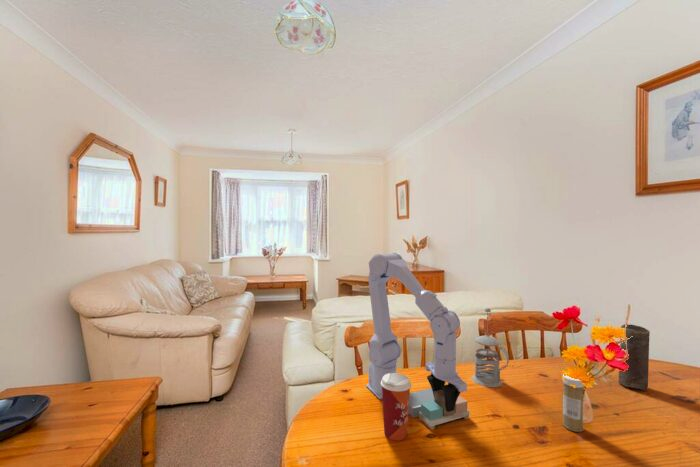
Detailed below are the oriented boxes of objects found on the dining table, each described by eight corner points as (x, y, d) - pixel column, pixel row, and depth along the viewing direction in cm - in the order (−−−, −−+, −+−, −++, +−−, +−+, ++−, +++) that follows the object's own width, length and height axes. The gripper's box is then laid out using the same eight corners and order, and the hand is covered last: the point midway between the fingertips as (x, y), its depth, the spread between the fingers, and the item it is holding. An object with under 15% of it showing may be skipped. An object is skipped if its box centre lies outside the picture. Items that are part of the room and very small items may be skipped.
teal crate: (420, 412, 87) (421, 403, 87) (432, 409, 89) (432, 400, 89) (430, 420, 83) (430, 411, 83) (442, 417, 85) (442, 407, 85)
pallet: (418, 419, 87) (419, 393, 87) (456, 408, 93) (456, 384, 93) (430, 429, 83) (430, 402, 83) (469, 418, 88) (469, 392, 88)
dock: (398, 404, 95) (398, 395, 95) (439, 394, 101) (439, 385, 101) (413, 417, 88) (413, 408, 88) (455, 405, 94) (455, 397, 94)
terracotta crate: (445, 406, 91) (446, 397, 91) (456, 403, 92) (457, 394, 92) (456, 413, 87) (456, 404, 87) (467, 410, 89) (467, 401, 89)
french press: (475, 371, 118) (476, 303, 118) (510, 380, 111) (511, 308, 111) (468, 381, 110) (469, 308, 110) (505, 391, 103) (506, 314, 103)
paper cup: (403, 447, 76) (404, 388, 76) (374, 436, 80) (375, 380, 80) (415, 430, 82) (416, 376, 82) (388, 421, 87) (388, 369, 86)
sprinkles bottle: (586, 429, 84) (587, 377, 84) (578, 435, 81) (579, 382, 81) (566, 420, 87) (567, 371, 87) (558, 425, 85) (559, 375, 85)
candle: (645, 385, 108) (646, 326, 108) (651, 394, 102) (652, 331, 102) (616, 379, 112) (617, 322, 112) (620, 388, 106) (621, 327, 106)
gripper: (476, 364, 83) (475, 417, 83) (439, 346, 96) (438, 391, 96) (454, 369, 80) (454, 423, 80) (419, 349, 93) (419, 396, 93)
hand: (444, 406), depth 88 cm, fingers closed on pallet, 4 cm apart
